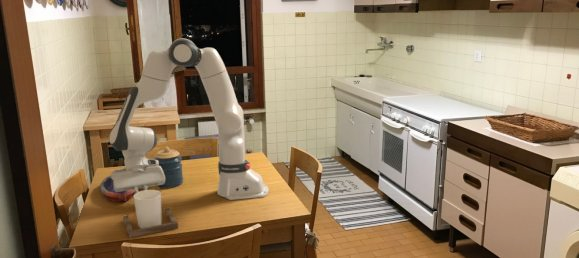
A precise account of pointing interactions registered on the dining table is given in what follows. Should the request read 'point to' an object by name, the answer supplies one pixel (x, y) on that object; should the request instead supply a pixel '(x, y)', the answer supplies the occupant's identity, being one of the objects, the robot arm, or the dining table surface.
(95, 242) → the dining table surface
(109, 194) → the dish
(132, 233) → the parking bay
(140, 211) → the candle holder
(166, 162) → the canister
